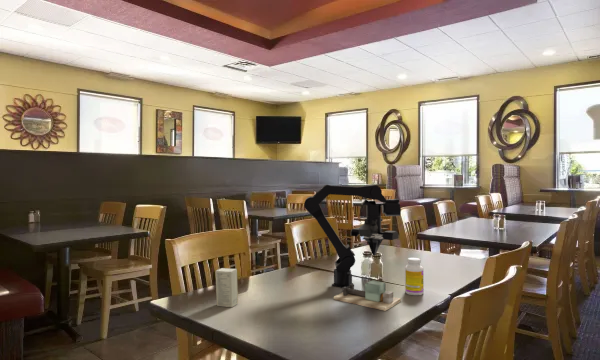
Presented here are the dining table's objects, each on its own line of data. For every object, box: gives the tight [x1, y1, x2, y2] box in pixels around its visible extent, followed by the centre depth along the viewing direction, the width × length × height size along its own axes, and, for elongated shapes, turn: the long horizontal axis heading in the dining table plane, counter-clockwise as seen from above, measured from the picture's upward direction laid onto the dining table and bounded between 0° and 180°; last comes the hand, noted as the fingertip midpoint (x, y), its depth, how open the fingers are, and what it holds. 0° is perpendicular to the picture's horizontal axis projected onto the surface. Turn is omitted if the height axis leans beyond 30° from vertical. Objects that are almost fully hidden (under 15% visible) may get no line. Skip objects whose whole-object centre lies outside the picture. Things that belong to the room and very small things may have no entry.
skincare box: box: [215, 267, 239, 308], centre depth 134 cm, size 6×4×12 cm
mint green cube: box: [364, 279, 387, 302], centre depth 136 cm, size 5×5×5 cm
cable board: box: [333, 283, 402, 312], centre depth 138 cm, size 20×12×4 cm, turn 52°
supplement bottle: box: [404, 257, 424, 296], centre depth 146 cm, size 7×7×13 cm
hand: (374, 255), depth 157 cm, fingers closed
